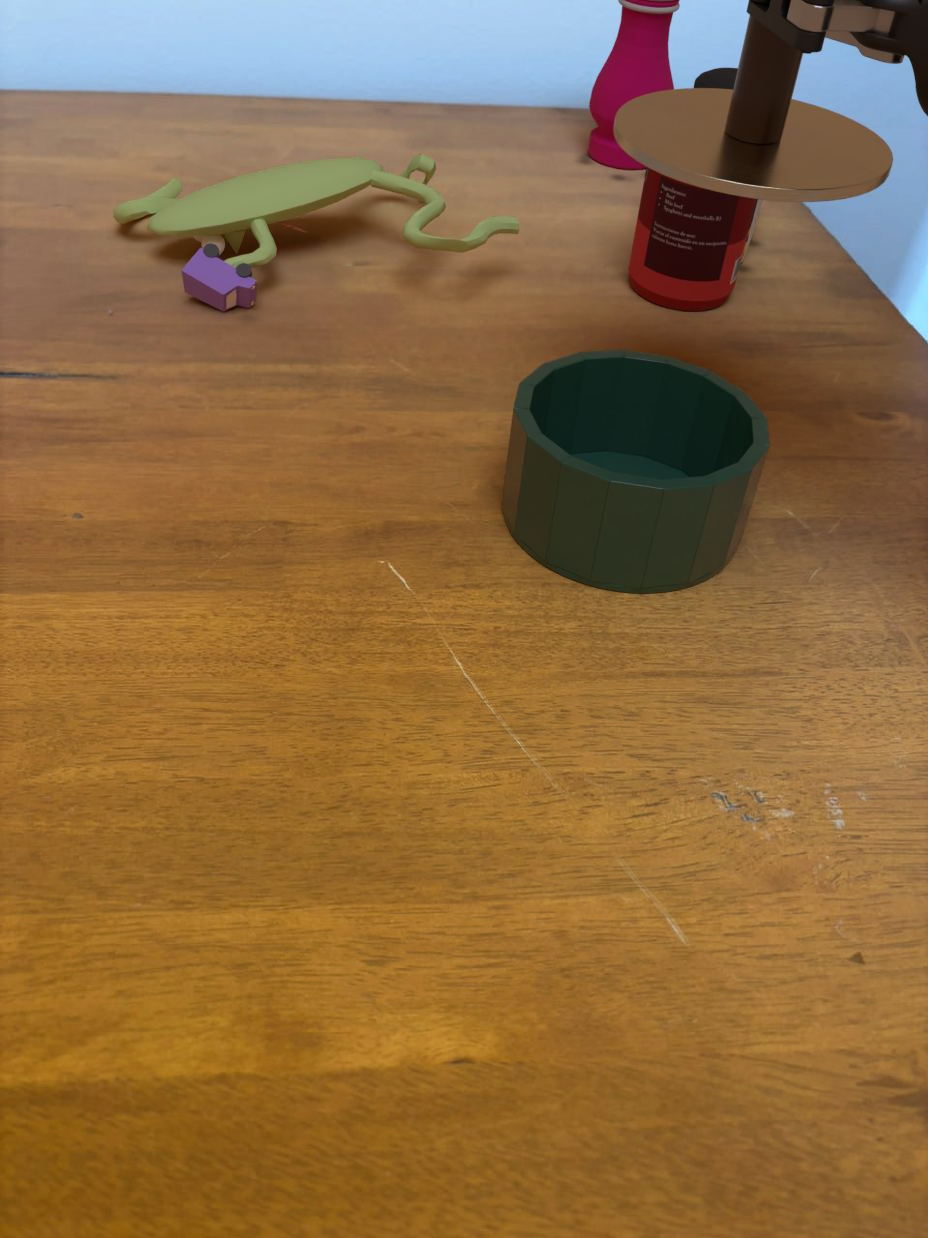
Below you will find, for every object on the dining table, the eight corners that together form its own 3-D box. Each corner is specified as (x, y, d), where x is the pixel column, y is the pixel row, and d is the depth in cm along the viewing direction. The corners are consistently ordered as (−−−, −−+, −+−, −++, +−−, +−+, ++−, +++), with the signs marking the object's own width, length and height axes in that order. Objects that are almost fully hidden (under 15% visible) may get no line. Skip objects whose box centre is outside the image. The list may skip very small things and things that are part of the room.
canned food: (697, 258, 86) (731, 106, 79) (753, 307, 81) (795, 149, 74) (606, 267, 84) (633, 111, 76) (658, 318, 78) (692, 156, 71)
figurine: (529, 304, 79) (539, 225, 75) (127, 327, 72) (116, 242, 68) (458, 196, 92) (463, 124, 88) (112, 207, 85) (102, 130, 81)
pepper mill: (622, 136, 105) (664, -120, 92) (680, 162, 101) (733, -100, 88) (565, 149, 101) (601, -115, 88) (623, 178, 97) (670, -95, 84)
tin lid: (741, 97, 64) (792, -128, 57) (942, 184, 56) (1030, -64, 49) (555, 133, 58) (586, -115, 50) (753, 237, 50) (823, -39, 43)
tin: (627, 428, 68) (647, 329, 63) (787, 542, 60) (822, 439, 56) (455, 491, 62) (464, 387, 57) (611, 626, 54) (634, 518, 50)
